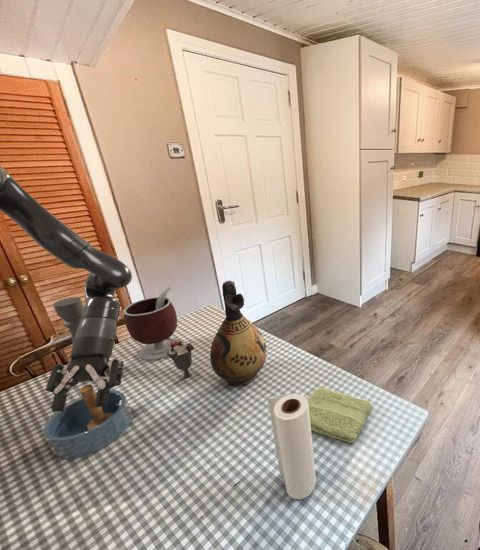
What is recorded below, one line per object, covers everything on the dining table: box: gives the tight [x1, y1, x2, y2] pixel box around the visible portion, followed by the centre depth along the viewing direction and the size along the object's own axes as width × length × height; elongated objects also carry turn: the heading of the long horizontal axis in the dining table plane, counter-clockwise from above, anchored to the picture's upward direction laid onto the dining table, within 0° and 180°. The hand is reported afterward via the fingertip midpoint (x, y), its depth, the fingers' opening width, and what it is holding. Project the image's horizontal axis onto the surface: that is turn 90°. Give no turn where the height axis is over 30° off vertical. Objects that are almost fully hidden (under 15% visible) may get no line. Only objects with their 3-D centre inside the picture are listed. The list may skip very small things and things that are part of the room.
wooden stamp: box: [79, 384, 113, 430], centre depth 73 cm, size 5×5×12 cm
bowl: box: [42, 389, 133, 460], centre depth 72 cm, size 15×15×6 cm
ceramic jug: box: [209, 280, 268, 388], centre depth 88 cm, size 17×15×30 cm
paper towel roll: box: [267, 393, 317, 500], centre depth 58 cm, size 7×6×21 cm
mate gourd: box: [123, 287, 181, 361], centre depth 102 cm, size 16×14×20 cm
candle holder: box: [52, 296, 111, 375], centre depth 89 cm, size 6×6×25 cm
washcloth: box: [306, 387, 374, 444], centre depth 77 cm, size 13×18×3 cm
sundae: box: [167, 337, 195, 380], centre depth 89 cm, size 7×7×15 cm
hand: (78, 409), depth 69 cm, fingers open, 8 cm apart
